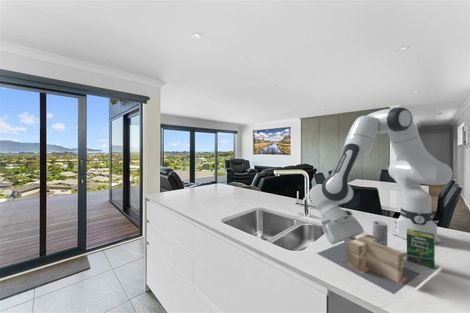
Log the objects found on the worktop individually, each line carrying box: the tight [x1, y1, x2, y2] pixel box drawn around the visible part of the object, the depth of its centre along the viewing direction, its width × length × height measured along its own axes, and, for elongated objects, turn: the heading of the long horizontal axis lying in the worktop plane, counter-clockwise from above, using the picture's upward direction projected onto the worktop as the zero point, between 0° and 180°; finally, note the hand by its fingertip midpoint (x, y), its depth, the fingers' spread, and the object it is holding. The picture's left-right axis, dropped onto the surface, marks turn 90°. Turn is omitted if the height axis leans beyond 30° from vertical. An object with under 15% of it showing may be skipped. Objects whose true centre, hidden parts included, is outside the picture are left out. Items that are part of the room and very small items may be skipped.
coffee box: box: [406, 229, 436, 270], centre depth 77 cm, size 8×3×13 cm, turn 39°
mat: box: [316, 241, 421, 295], centre depth 78 cm, size 20×28×1 cm
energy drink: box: [372, 220, 389, 247], centre depth 89 cm, size 5×5×12 cm
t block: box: [348, 234, 405, 282], centre depth 74 cm, size 14×14×9 cm
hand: (356, 249), depth 80 cm, fingers closed
